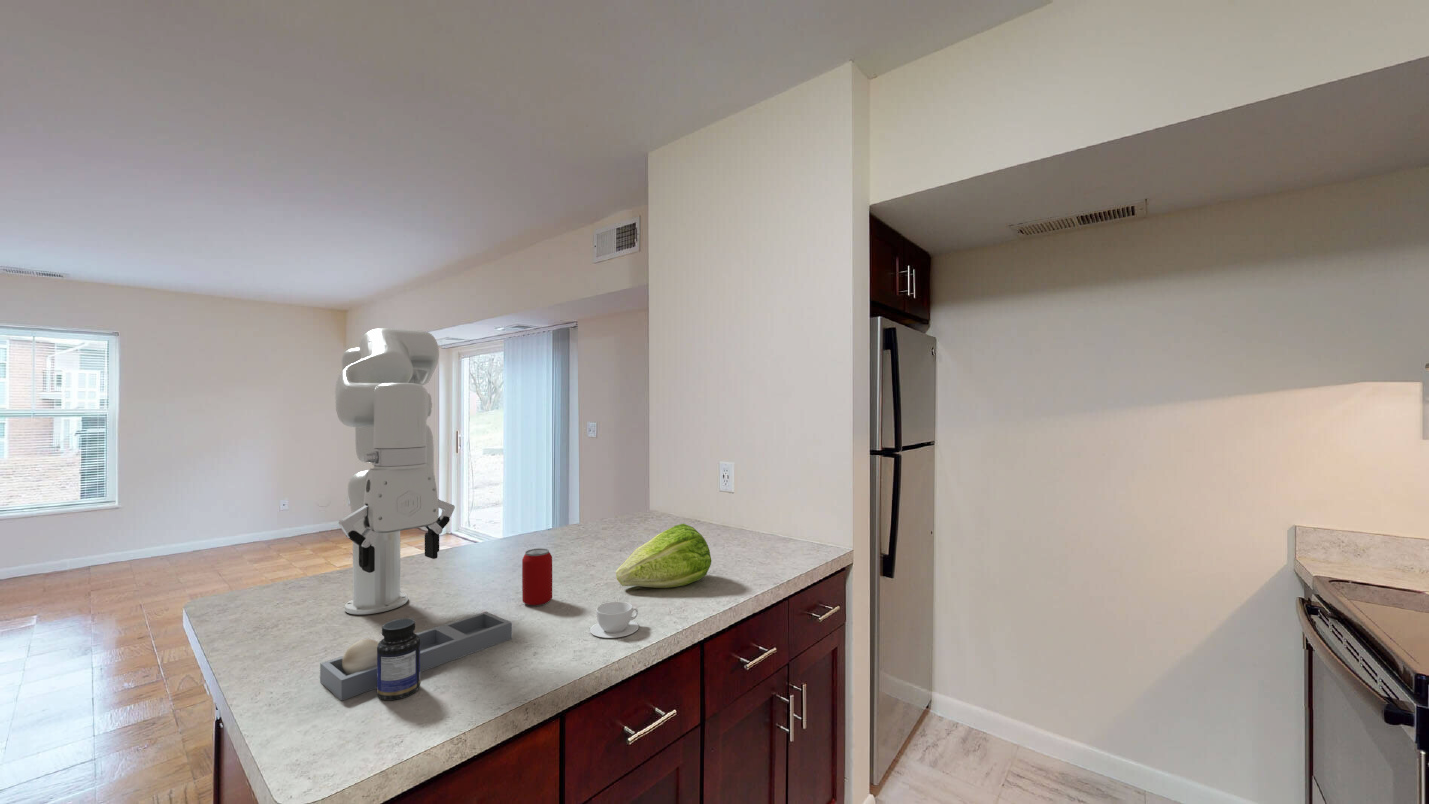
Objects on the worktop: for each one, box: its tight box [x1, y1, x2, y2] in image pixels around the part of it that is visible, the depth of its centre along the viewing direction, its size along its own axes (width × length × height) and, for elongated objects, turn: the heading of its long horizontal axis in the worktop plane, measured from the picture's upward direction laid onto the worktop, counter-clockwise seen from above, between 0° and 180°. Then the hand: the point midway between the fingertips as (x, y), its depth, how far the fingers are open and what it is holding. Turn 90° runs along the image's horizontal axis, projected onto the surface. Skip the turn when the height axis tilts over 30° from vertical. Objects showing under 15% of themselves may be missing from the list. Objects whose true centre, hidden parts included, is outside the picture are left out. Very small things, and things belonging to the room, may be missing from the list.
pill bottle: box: [376, 617, 421, 701], centre depth 91 cm, size 6×6×11 cm
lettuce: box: [615, 523, 712, 589], centre depth 145 cm, size 15×24×16 cm
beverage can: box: [521, 547, 553, 607], centre depth 132 cm, size 7×7×12 cm
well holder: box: [319, 611, 513, 701], centre depth 102 cm, size 10×30×3 cm, turn 142°
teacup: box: [589, 600, 640, 639], centre depth 115 cm, size 10×10×5 cm
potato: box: [342, 638, 379, 675], centre depth 95 cm, size 6×6×6 cm
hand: (400, 563), depth 91 cm, fingers open, 9 cm apart
